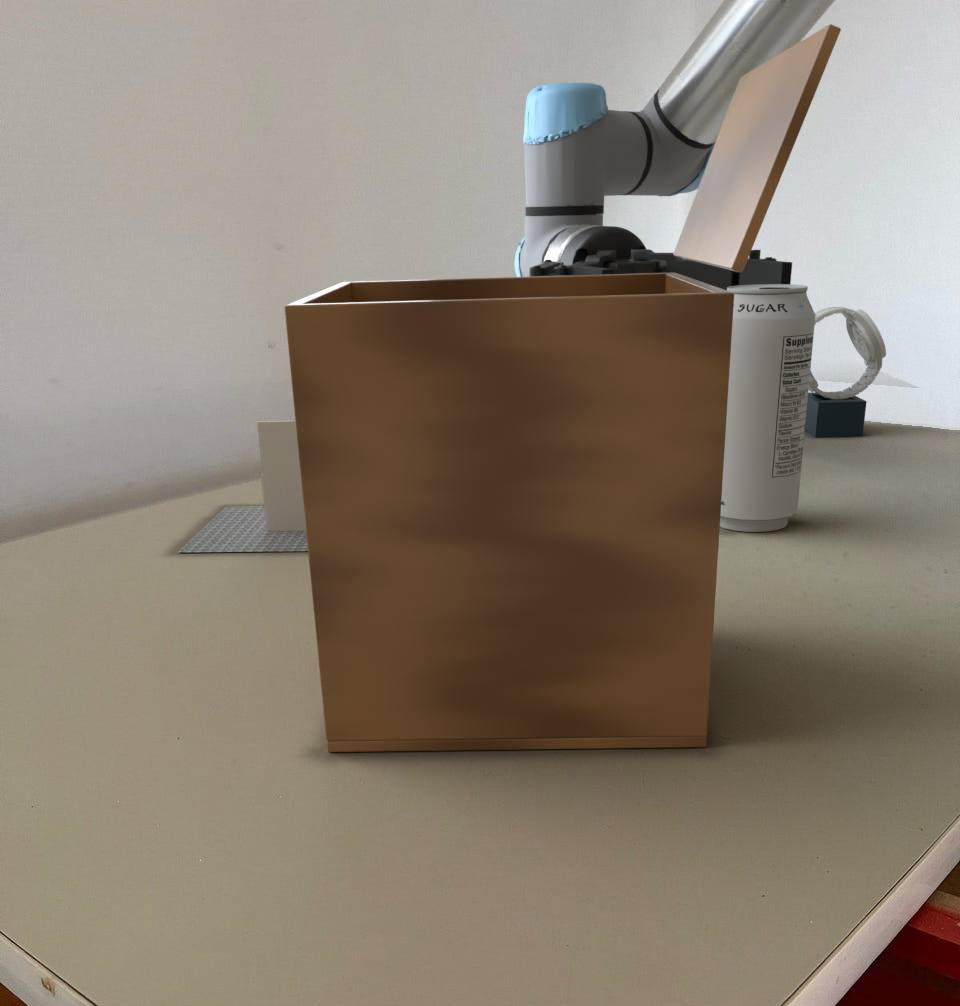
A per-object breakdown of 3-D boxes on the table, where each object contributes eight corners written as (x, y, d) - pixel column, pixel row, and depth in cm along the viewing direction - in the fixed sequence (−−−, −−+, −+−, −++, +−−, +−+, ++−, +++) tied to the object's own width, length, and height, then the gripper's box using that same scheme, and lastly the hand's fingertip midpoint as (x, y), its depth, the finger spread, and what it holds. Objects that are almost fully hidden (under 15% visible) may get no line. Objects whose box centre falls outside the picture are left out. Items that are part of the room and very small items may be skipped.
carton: (660, 625, 52) (675, 272, 46) (706, 747, 40) (734, 292, 34) (368, 630, 53) (341, 281, 46) (327, 752, 41) (284, 305, 34)
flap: (672, 254, 46) (680, 257, 46) (730, 269, 34) (742, 273, 34) (740, 76, 43) (749, 80, 43) (829, 23, 31) (842, 28, 31)
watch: (884, 435, 94) (899, 309, 90) (795, 437, 94) (807, 311, 90) (863, 423, 99) (877, 304, 95) (779, 425, 99) (789, 306, 95)
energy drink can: (725, 505, 73) (739, 283, 67) (809, 517, 70) (831, 284, 64) (689, 526, 69) (701, 289, 63) (776, 539, 65) (798, 291, 60)
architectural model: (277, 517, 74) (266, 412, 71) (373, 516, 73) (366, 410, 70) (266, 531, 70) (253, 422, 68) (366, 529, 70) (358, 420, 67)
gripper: (723, 309, 96) (850, 332, 77) (461, 321, 90) (528, 350, 71) (728, 221, 93) (862, 224, 74) (459, 230, 88) (527, 234, 68)
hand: (698, 286), depth 72 cm, fingers open, 13 cm apart
